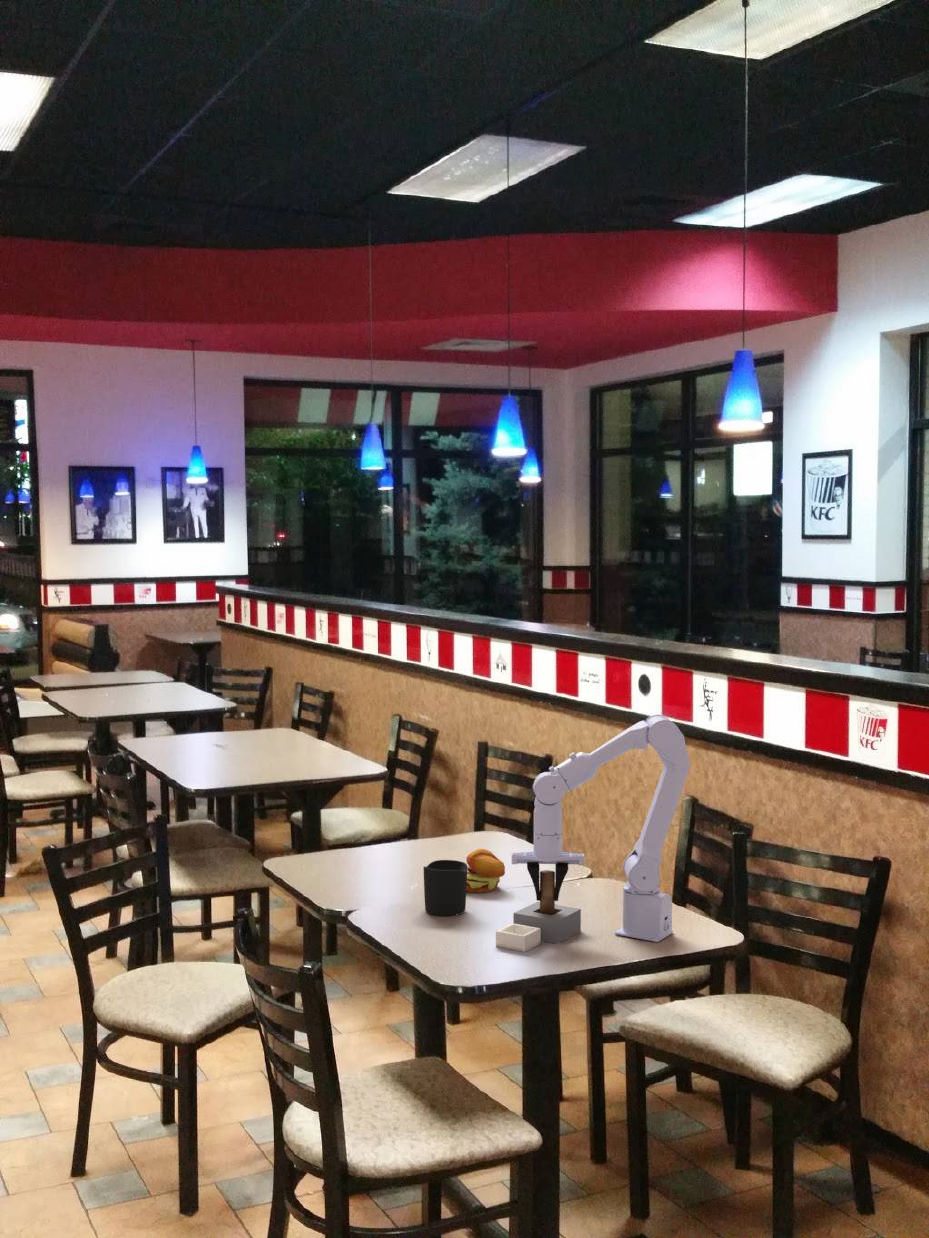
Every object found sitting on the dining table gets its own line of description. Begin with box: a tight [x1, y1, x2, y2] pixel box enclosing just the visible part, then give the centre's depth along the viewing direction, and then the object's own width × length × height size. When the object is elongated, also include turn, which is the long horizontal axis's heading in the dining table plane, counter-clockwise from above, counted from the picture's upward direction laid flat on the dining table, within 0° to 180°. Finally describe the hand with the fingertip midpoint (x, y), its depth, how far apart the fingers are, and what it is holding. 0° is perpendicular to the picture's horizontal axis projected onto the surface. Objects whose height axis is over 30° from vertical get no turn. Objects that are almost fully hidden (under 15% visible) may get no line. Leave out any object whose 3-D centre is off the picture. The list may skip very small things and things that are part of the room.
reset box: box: [512, 901, 582, 944], centre depth 247 cm, size 10×10×4 cm
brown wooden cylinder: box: [539, 869, 556, 915], centre depth 247 cm, size 3×3×9 cm
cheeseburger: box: [466, 848, 506, 894], centre depth 281 cm, size 10×11×10 cm
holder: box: [495, 922, 542, 953], centre depth 239 cm, size 6×6×3 cm
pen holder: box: [423, 859, 468, 917], centre depth 263 cm, size 9×9×10 cm
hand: (547, 899), depth 247 cm, fingers closed on brown wooden cylinder, 3 cm apart
